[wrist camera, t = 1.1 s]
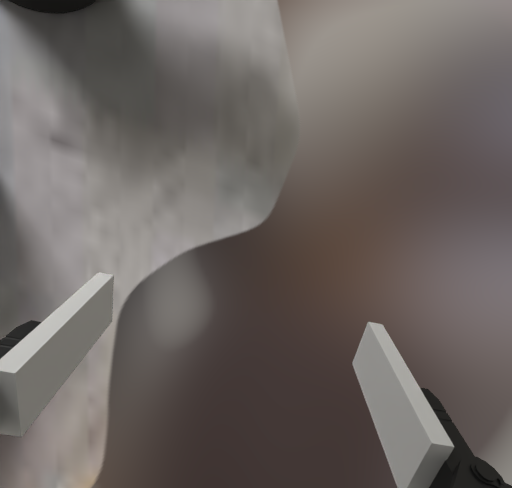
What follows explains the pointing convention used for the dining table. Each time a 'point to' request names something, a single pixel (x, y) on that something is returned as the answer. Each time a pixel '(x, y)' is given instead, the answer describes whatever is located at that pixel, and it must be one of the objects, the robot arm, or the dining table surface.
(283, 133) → the dining table surface
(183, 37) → the dining table surface
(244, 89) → the dining table surface
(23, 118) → the dining table surface
